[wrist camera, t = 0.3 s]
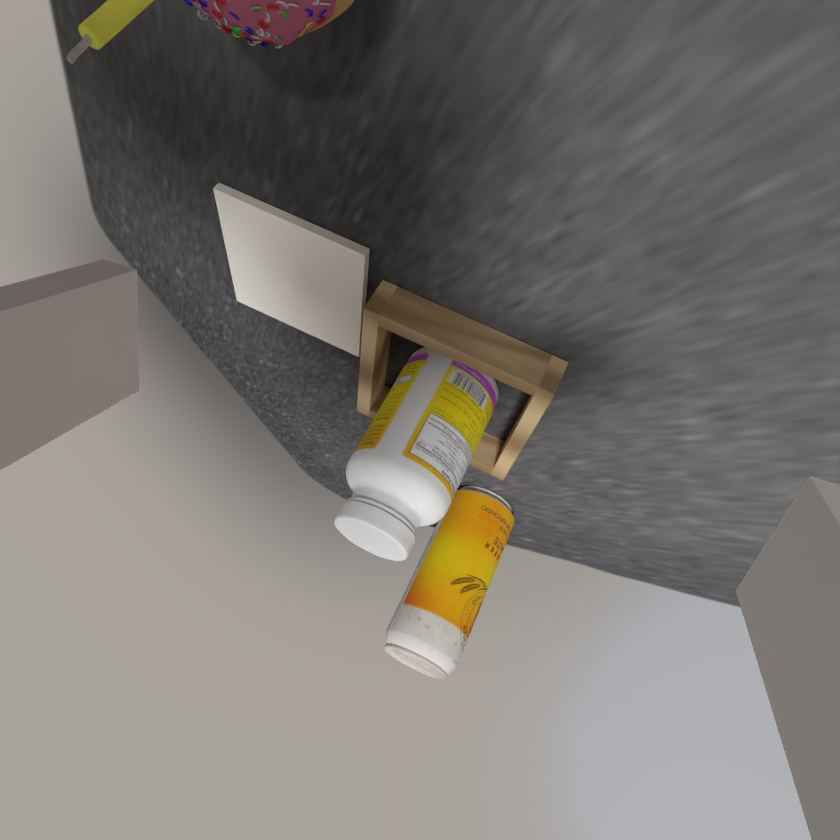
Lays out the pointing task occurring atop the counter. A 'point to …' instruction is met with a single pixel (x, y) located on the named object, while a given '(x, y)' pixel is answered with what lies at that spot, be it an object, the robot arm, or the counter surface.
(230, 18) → the cupcake
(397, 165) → the counter surface
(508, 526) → the beer can
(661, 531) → the counter surface
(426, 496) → the supplement bottle
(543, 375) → the oak holder
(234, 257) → the plate
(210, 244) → the counter surface
